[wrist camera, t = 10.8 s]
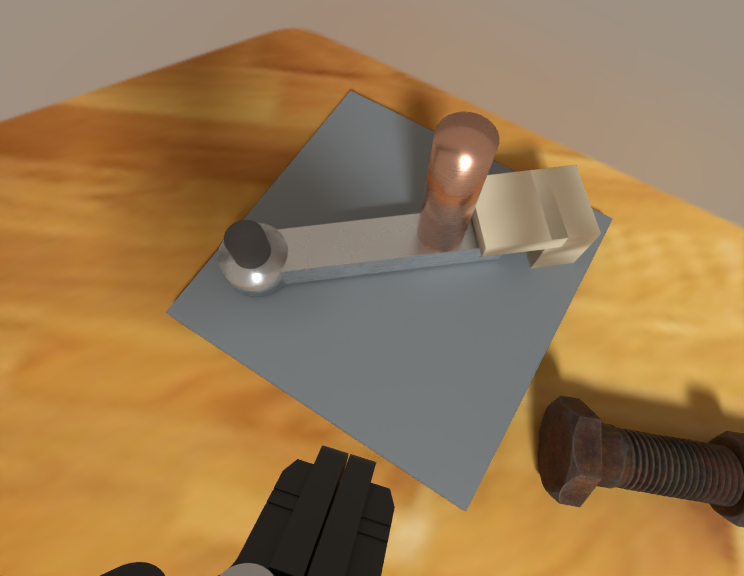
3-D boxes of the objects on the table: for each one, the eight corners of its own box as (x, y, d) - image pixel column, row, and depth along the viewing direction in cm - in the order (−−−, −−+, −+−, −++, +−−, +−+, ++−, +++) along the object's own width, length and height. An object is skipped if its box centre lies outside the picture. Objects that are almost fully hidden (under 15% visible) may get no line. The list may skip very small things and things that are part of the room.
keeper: (472, 275, 31) (486, 248, 28) (457, 211, 33) (468, 177, 30) (573, 262, 32) (601, 233, 28) (553, 199, 34) (576, 164, 30)
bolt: (770, 503, 29) (529, 461, 30) (793, 427, 28) (545, 385, 29) (861, 572, 23) (561, 519, 24) (893, 479, 23) (582, 426, 23)
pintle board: (462, 509, 27) (483, 517, 22) (173, 318, 32) (133, 286, 26) (605, 227, 34) (646, 182, 29) (351, 101, 39) (347, 43, 33)
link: (227, 301, 31) (154, 213, 20) (226, 241, 32) (157, 131, 22) (501, 267, 31) (564, 167, 21) (487, 211, 33) (538, 92, 23)
